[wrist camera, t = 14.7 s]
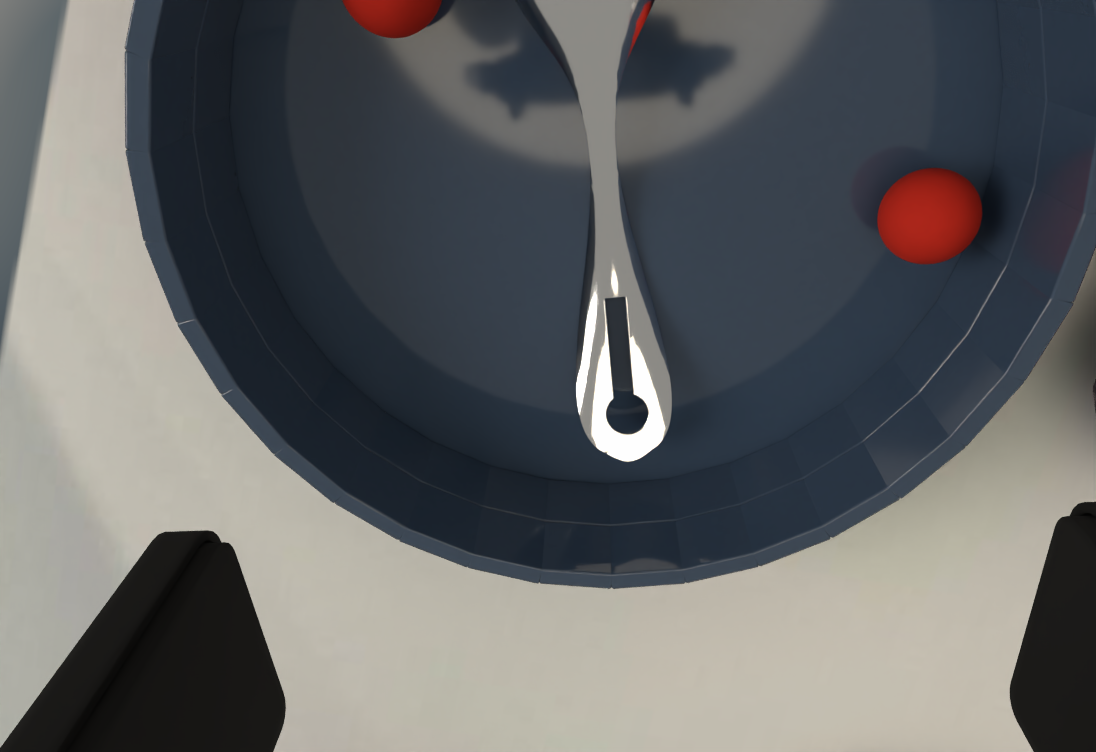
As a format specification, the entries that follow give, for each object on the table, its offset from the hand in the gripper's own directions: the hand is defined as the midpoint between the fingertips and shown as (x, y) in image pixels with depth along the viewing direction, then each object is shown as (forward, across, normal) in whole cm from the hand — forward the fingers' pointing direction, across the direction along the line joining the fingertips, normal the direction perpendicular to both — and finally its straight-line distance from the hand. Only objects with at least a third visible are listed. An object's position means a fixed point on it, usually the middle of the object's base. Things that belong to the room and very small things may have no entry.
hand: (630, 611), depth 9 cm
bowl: (+20, 0, 0) cm, 20 cm away
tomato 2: (+18, -10, +2) cm, 21 cm away
